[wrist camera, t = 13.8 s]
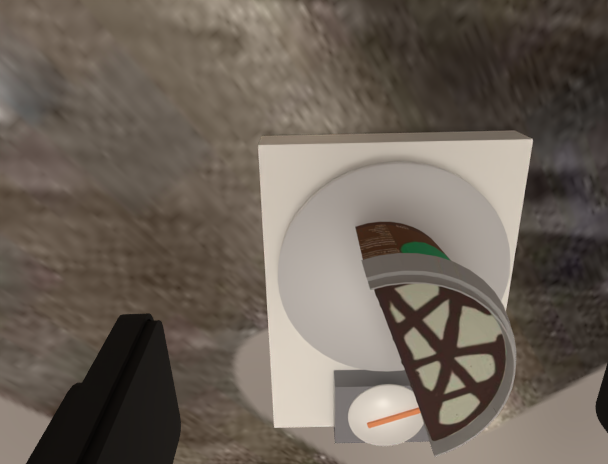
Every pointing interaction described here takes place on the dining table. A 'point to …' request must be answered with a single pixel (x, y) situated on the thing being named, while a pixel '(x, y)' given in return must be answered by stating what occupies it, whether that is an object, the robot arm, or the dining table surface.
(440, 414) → the food container
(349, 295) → the dial scale
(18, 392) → the dining table surface
